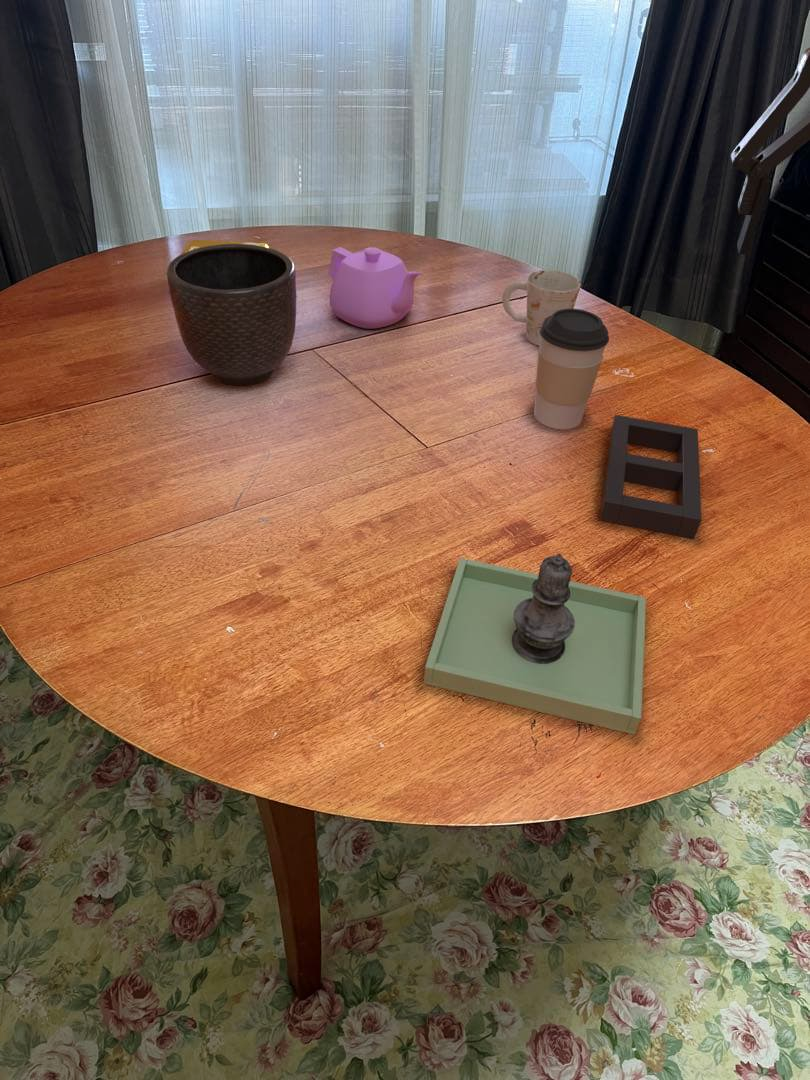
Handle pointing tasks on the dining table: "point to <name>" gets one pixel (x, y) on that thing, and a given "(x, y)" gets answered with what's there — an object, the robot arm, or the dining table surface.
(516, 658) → the tray
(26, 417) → the dining table surface
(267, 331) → the planter
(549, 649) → the dark grey chess piece
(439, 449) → the dining table surface
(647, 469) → the rack
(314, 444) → the dining table surface
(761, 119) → the robot arm
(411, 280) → the teapot
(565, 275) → the mug
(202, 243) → the element tile
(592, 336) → the coffee cup
